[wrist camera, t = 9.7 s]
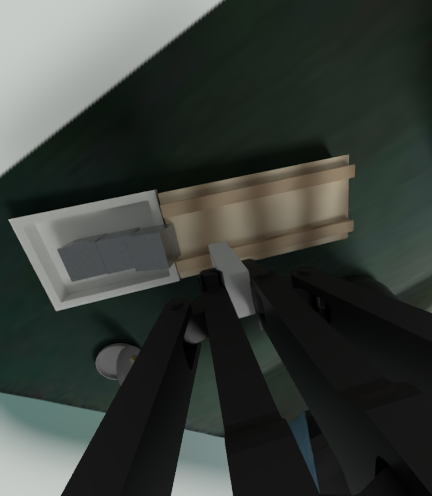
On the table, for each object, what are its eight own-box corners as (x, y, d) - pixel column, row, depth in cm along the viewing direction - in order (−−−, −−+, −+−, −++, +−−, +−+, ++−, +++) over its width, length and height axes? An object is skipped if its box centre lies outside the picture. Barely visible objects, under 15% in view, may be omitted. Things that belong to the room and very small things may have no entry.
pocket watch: (91, 367, 32) (53, 443, 23) (112, 325, 31) (81, 388, 21) (140, 381, 35) (125, 455, 25) (163, 342, 33) (155, 406, 24)
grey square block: (139, 227, 27) (131, 234, 23) (147, 255, 28) (142, 266, 24) (107, 233, 26) (95, 241, 23) (118, 262, 28) (107, 274, 24)
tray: (156, 189, 26) (154, 189, 24) (179, 273, 30) (179, 280, 28) (24, 216, 25) (8, 219, 22) (66, 300, 29) (56, 311, 26)
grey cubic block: (94, 241, 23) (56, 249, 22) (107, 273, 24) (71, 281, 23) (107, 233, 26) (75, 239, 26) (117, 261, 28) (87, 268, 27)
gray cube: (173, 223, 25) (159, 232, 21) (181, 254, 26) (169, 268, 22) (143, 227, 25) (124, 237, 22) (152, 257, 27) (136, 271, 23)
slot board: (332, 157, 29) (355, 153, 25) (333, 233, 32) (353, 239, 28) (160, 192, 26) (156, 194, 23) (181, 269, 30) (180, 281, 26)
